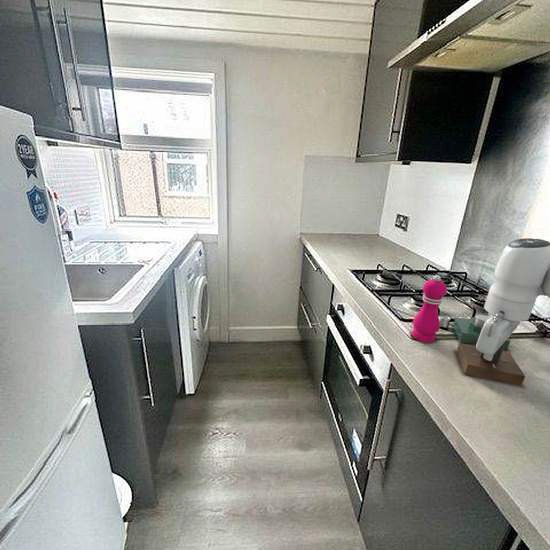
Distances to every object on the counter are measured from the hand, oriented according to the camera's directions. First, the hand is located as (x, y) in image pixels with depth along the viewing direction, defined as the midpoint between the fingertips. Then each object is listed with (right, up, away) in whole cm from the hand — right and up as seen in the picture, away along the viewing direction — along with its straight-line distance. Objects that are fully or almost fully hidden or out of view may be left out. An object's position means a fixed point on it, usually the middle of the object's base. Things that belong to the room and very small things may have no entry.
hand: (491, 354), depth 77 cm
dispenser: (+7, +1, +15) cm, 17 cm away
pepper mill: (-10, +1, +15) cm, 18 cm away
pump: (+7, +6, +13) cm, 16 cm away
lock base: (0, -4, +2) cm, 4 cm away
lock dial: (0, -1, 0) cm, 1 cm away
